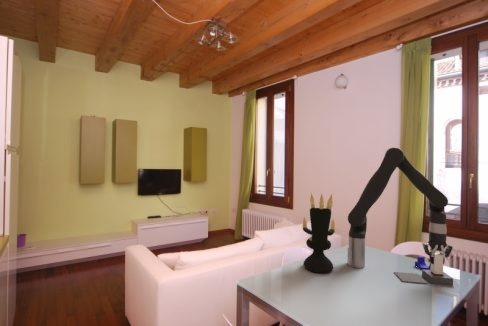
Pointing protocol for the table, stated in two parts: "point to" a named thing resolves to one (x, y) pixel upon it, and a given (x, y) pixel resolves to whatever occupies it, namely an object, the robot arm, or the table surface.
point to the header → (437, 278)
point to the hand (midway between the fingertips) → (436, 263)
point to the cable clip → (422, 263)
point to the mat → (410, 277)
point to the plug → (437, 264)
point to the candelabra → (319, 236)
